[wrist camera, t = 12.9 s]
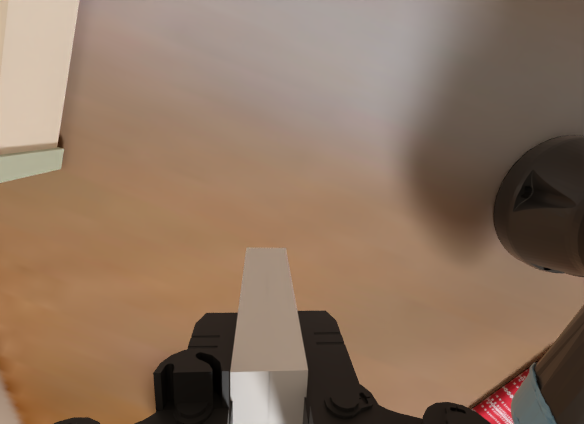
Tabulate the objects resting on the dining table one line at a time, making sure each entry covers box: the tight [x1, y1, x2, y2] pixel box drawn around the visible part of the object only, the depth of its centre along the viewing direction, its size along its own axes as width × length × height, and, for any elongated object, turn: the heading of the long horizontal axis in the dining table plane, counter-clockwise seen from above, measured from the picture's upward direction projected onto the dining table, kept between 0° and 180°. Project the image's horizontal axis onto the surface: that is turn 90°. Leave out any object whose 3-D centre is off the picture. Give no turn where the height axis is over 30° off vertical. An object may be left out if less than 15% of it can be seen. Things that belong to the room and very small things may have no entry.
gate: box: [0, 0, 79, 183], centre depth 23 cm, size 25×3×12 cm, turn 162°
